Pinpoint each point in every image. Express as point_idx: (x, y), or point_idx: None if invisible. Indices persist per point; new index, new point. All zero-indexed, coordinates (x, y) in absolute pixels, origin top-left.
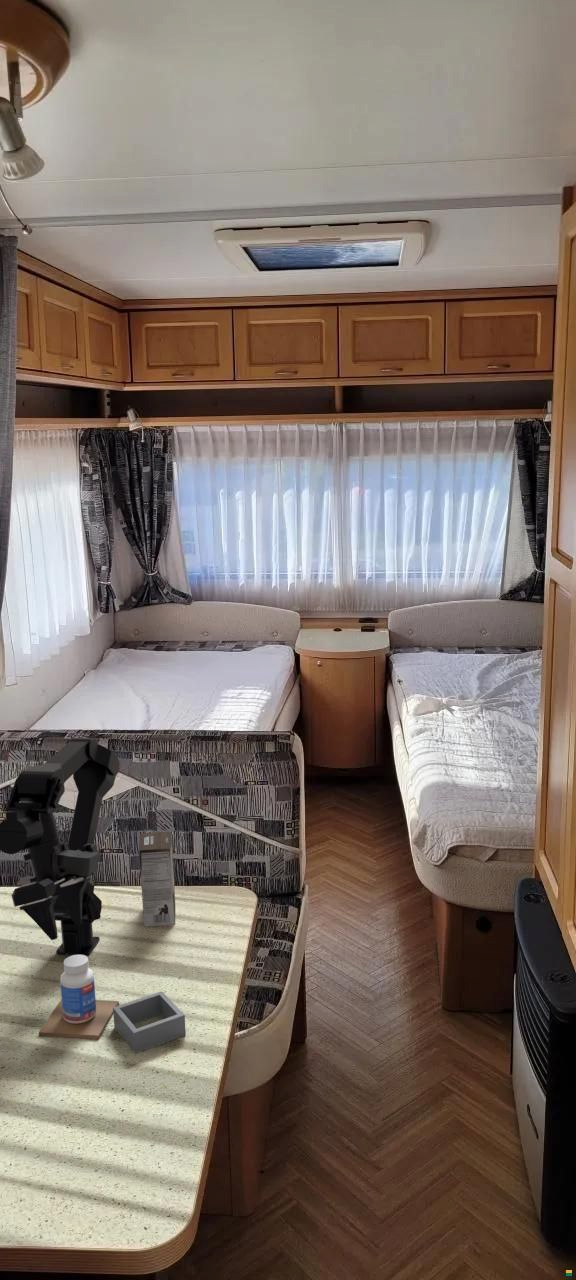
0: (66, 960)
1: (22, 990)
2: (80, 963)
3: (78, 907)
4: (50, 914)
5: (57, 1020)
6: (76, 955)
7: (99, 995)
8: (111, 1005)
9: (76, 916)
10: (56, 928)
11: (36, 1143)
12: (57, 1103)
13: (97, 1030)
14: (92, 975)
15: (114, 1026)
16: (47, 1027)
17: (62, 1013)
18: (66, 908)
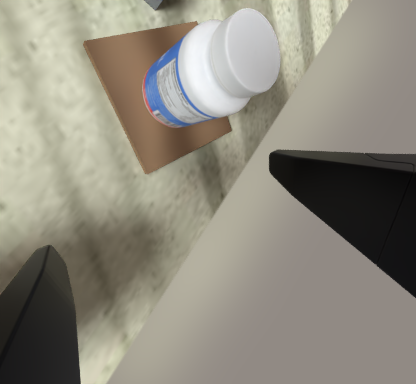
0: (265, 82)
1: (157, 271)
2: (262, 24)
3: (30, 317)
4: (406, 154)
5: (200, 125)
6: (238, 69)
7: (79, 116)
8: (109, 49)
9: (58, 283)
10: (301, 155)
11: (326, 3)
12: (293, 12)
13: (187, 31)
14: (207, 20)
15: (156, 8)
16: (218, 127)
17: (182, 132)
18: (79, 374)
